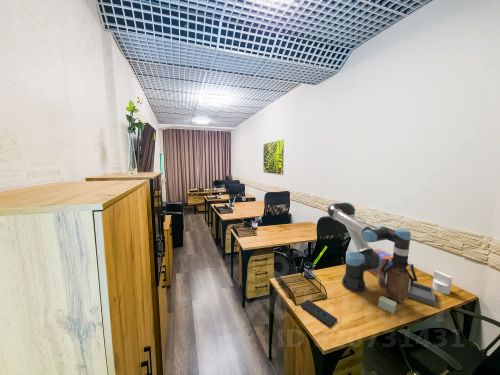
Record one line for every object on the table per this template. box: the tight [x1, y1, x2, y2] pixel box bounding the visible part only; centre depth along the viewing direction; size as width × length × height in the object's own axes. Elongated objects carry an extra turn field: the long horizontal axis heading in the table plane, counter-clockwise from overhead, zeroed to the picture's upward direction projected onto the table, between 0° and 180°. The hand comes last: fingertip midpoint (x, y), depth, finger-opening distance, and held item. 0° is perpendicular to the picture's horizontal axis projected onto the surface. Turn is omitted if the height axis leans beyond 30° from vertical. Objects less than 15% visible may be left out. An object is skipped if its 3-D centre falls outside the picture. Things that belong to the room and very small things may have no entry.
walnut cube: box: [377, 275, 387, 289], centre depth 144 cm, size 6×6×6 cm
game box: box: [367, 248, 393, 278], centre depth 161 cm, size 16×16×16 cm
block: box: [385, 267, 410, 303], centre depth 127 cm, size 11×8×20 cm
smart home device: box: [299, 299, 338, 328], centre depth 117 cm, size 8×2×20 cm
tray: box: [406, 281, 436, 307], centre depth 134 cm, size 14×17×4 cm
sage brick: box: [377, 295, 397, 315], centre depth 121 cm, size 8×5×5 cm, turn 40°
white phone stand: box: [432, 270, 453, 295], centre depth 138 cm, size 9×9×12 cm
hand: (396, 286), depth 127 cm, fingers closed on block, 11 cm apart
